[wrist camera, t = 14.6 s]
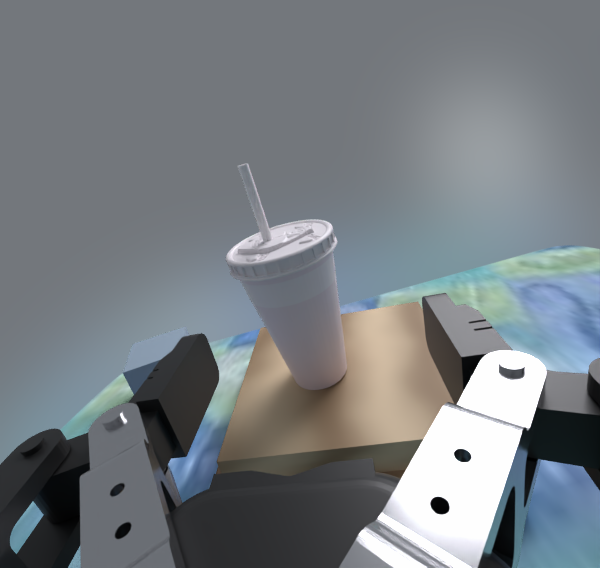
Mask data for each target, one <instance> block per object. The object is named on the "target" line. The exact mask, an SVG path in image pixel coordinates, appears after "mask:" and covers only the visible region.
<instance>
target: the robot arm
mask: <svg viewBox="0 0 600 568" xmlns="http://www.w3.org/2000/svg"><path fill="white" fill-rule="evenodd" d="M422 306H423V316H424V326H425V336H426V342H427V346H428V349H429V352H430V355H431V357H432V359H433V361H434V363H435V365H436V367H437V369H438V371H439V373H440V375H441V377H442V380H443V382H444V384H445V386H446V388H447V390H448V392H449V394H450V396H451V398H452V400H453V402H454V403H450V402H447V403H446V404H445V405H444V406H443V407H442V409H441V410H440V412H439V414H438V416H437V417H436V419H435V421H434V423H433V424H432V426H431V428H430V430H429V431H428V433H427V435H426V436H425V438H424V440H423V442H422V443H421V445H420V447H419V449H418V450H417V452H416V454H415V456H414V457H413V459H412V461H411V462H410V464H409V466H408V468H407V469H406V471H405V473H404V475H403V476H402V478H401V479H400V478H398V477H395V476H392V475H388V474H385V473H379V472H375V467H374V462H373V458H367V459H357V460H348V461H338V462H331V463H328V464H325V465H322V466H319V467H316V468H313V469H310V470H307V471H304V472H301V473H298V474H295V475H292V476H283V475H277V474H271V473H265V472H258V471H252V470H250V471H240V472H230V473H220V474H214V476H213V479H212V482H211V485H210V488H209V489H208V490H205V491H203V492H201V493H198V494H196V495H195V496H193V497H191V498H189V499H188V500H186V501H185V502H183V503H182V500H181V498H180V495H179V492H178V489H177V486H176V483H175V480H174V477H173V475H172V472H171V470H170V468H169V466H168V463H169V461H170V459H171V458H179V457H186V456H187V454H188V452H189V449H190V447H191V445H192V442H193V440H194V438H195V436H196V433H197V431H198V429H199V426H200V424H201V422H202V419H203V417H204V415H205V412H206V410H207V408H208V406H209V403H210V401H211V399H212V396H213V394H214V392H215V389H216V387H217V385H218V382H219V370H218V366H217V364H216V361H215V358H214V356H213V353H212V351H211V348H210V345H209V343H208V340H207V338H206V336H205V335H204V334H202V333H201V334H195V335H189V336H183V337H182V338H181V339H180V340H179V342H178V343H177V345H176V346H175V347H174V349H173V350H172V351H171V352H170V353H168V354H167V355H166V356H165V357H163V358H162V359H161V360H160V361H159V362H158V364H157V365H156V366H155V368H154V369H153V372H151V373H150V374H149V376H148V377H147V380H145V381H144V383H143V384H142V385H141V387H140V388H139V389H138V391H137V392H136V393H135V395H134V396H133V397H132V399H131V400H130V402H129V403H126V404H121V405H118V406H116V407H114V408H112V409H110V410H108V411H106V412H105V413H103V414H102V415H101V416H100V417H98V418H97V419H96V420H95V421H94V423H93V424H92V425H91V427H90V429H89V432H88V433H86V434H83V435H81V436H78V437H75V438H72V439H69V440H67V439H66V438H65V436H64V435H63V433H62V432H61V431H60V430H59V429H49V430H46V431H43V432H40V433H38V434H36V435H35V436H32V437H31V438H29V439H28V440H26V441H25V442H23V443H22V444H21V445H19V446H18V447H17V448H16V449H15V450H14V451H13V452H12V453H11V454H10V455H9V456H8V457H7V458H6V459H5V460H4V461H3V462H2V463H1V465H0V568H68V566H69V564H70V563H71V561H72V559H73V557H74V555H75V554H76V552H77V550H78V548H79V546H81V568H517V566H518V562H519V557H520V552H521V546H522V540H523V532H524V526H525V521H526V517H527V513H528V509H529V505H530V501H531V497H532V493H533V489H534V485H535V481H536V477H537V474H538V470H539V466H540V462H541V460H547V461H553V462H559V463H565V464H571V465H577V466H583V467H584V469H585V470H586V472H587V473H588V474H589V476H590V477H591V479H592V480H593V482H594V483H595V484H596V486H597V487H598V489H599V490H600V358H598V359H596V360H594V361H593V362H591V364H590V365H589V371H588V374H582V373H567V372H555V371H549V370H546V369H545V367H544V365H543V364H542V363H541V362H540V361H539V360H537V359H536V358H534V357H532V356H530V355H528V354H525V353H521V352H516V351H513V350H512V349H511V347H510V346H509V345H508V344H507V343H506V342H505V341H504V339H503V338H502V337H501V336H500V335H499V334H498V333H497V332H496V330H495V329H494V328H492V326H491V325H490V324H489V322H488V321H486V319H485V318H484V317H483V316H482V314H481V313H480V312H479V311H478V310H476V309H474V308H472V307H470V306H468V305H466V304H464V305H458V306H455V304H454V303H453V302H452V300H451V299H450V298H449V296H448V295H447V294H446V293H442V294H436V295H430V296H424V297H423V298H422ZM32 501H34V503H35V504H36V505H37V507H38V508H39V509H40V510H41V512H42V513H43V514H44V516H43V517H42V518H41V520H40V521H39V523H38V524H37V526H36V527H35V529H34V530H33V531H32V533H31V534H30V536H29V537H28V539H27V540H26V542H25V543H24V544H23V546H22V547H21V549H20V550H19V552H18V553H17V555H16V553H15V552H14V551H13V550H12V549H11V547H10V535H11V532H12V529H13V527H14V526H15V524H16V523H17V521H18V520H19V519H20V517H21V516H22V515H23V513H24V512H25V511H26V509H27V508H28V507H29V505H30V504H31V503H32Z"/></svg>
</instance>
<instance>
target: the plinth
mask: <svg viewBox="0 0 600 568" xmlns="http://www.w3.org/2000/svg"><path fill="white" fill-rule="evenodd" d="M341 322H342V330H343V338H344V346H345V354H346V362H347V370H346V373H345V375H344V376H343V377H342V379H341V380H339V381H338V382H337V383H336V384H334V385H332V386H330V387H328V388H325V389H320V390H308V389H304V388H302V387H300V386H299V385H298V384H297V383H296V381H295V379H294V378H293V376H292V374H291V372H290V370H289V368H288V367H287V365H286V363H285V361H284V359H283V358H282V356H281V354H280V352H279V350H278V348H277V347H276V345H275V343H274V341H273V339H272V338H271V336H270V334H269V332H268V330H267V329H266V327H264V328H261V329H260V332H259V335H258V338H257V341H256V344H255V347H254V350H253V353H252V356H251V359H250V362H249V365H248V368H247V371H246V374H245V377H244V380H243V383H242V386H241V389H240V393H239V396H238V399H237V402H236V405H235V408H234V411H233V414H232V417H231V420H230V423H229V426H228V429H227V432H226V435H225V438H224V441H223V444H222V447H221V450H220V453H219V456H218V459H217V464H218V469H217V472H216V474H220V473H230V472H240V471H250V470H252V471H258V472H265V473H271V474H277V475H283V476H292V475H295V474H298V473H301V472H304V471H307V470H310V469H313V468H316V467H319V466H322V465H325V464H328V463H331V462H338V461H348V460H357V459H367V458H373V462H374V467H375V472H379V473H385V474H388V475H392V476H395V477H398V478H400V479H401V478H402V476H403V475H404V473H405V471H406V469H407V468H408V466H409V464H410V462H411V461H412V459H413V457H414V456H415V454H416V452H417V450H418V449H419V447H420V445H421V443H422V442H423V440H424V438H425V436H426V435H427V433H428V431H429V430H430V428H431V426H432V424H433V423H434V421H435V419H436V417H437V416H438V414H439V412H440V410H441V409H442V407H443V406H444V405H445V404H446V403H447V402H450V403H454V402H453V400H452V398H451V396H450V394H449V392H448V390H447V388H446V386H445V384H444V382H443V380H442V377H441V375H440V373H439V371H438V369H437V367H436V365H435V363H434V361H433V359H432V357H431V355H430V352H429V349H428V346H427V342H426V336H425V326H424V316H423V310H422V308H421V306H420V304H419V303H418V302H413V303H407V304H401V305H395V306H389V307H383V308H377V309H371V310H365V311H359V312H353V313H347V314H341Z"/></svg>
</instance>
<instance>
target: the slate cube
mask: <svg viewBox="0 0 600 568" xmlns="http://www.w3.org/2000/svg"><path fill="white" fill-rule="evenodd" d="M183 336H189V333H188V331H187V328H186V327H182V328H179V329H177V330H173V331H170V332H167V333H164V334H161V335H158V336H155V337H152V338H149V339H146V340H143V341H140V342H137V343H134V344H133V345H132V348H131V350H130V354H129V356H128V359H127V362H126V365H125V368H124V371H123V374H124V376H125V378H126V380H127V382H128V384H129V386H130V388H131V390H132V392H133V393H134V395H135V393H136V392H137V391H138V389H139V388H140V387H141V385H142V384H143V383H144V381H145V380H147V377H148V376H149V374H150V373H151V372H153V369H154V368H155V366H156V365H157V364H158V362H159V361H160V360H161V359H162V358H163V357H165V356H166V355H167V354H168V353H170V352H171V351H172V350H173V349H174V347H175V346H176V345H177V343H178V342H179V340H180V339H181V338H182V337H183Z"/></svg>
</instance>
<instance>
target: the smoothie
mask: <svg viewBox="0 0 600 568" xmlns="http://www.w3.org/2000/svg"><path fill="white" fill-rule="evenodd" d="M238 169H239V172H240V175H241V178H242V181H243V183H244V186H245V189H246V192H247V195H248V198H249V201H250V204H251V207H252V210H253V213H254V216H255V219H256V221H257V224H258V227H259V230H260V232H259V233H257V234H254V235H252V236H250V237H248V238H246V239H244V240H243V241H241V242H240V243H238V244H237V245H235V246H234V247H233V248H232V249H231V250H230V251H229V252H228V254H227V256H226V262H227V264H228V266H229V268H230V274H231V276H233V277H234V278H235V279H238V280H240V281H241V283H242V285H243V286H244V289H245V290H246V292H247V294H248V296H249V298H250V300H251V302H252V303H253V305H254V307H255V309H256V310H257V312H258V314H259V316H260V318H261V319H262V321H263V323H264V325H265V327H266V329H267V330H268V332H269V334H270V336H271V338H272V339H273V341H274V343H275V345H276V347H277V348H278V350H279V352H280V354H281V356H282V358H283V359H284V361H285V363H286V365H287V367H288V368H289V370H290V372H291V374H292V376H293V378H294V379H295V381H296V383H297V384H298V385H299V386H300V387H302V388H304V389H308V390H320V389H325V388H328V387H330V386H332V385H334V384H336V383H337V382H338V381H339V380H341V379H342V377H343V376H344V375H345V373H346V370H347V362H346V354H345V346H344V338H343V330H342V322H341V313H340V305H339V297H338V289H337V281H336V272H335V264H334V257H333V250H334V249H335V246H336V245H337V239H336V237H335V235H334V231H333V227H332V225H331V224H330V223H328V222H327V221H323V220H301V221H295V222H290V223H286V224H282V225H279V226H275V227H272V228H269V226H268V223H267V220H266V217H265V214H264V211H263V208H262V205H261V202H260V198H259V195H258V193H257V190H256V186H255V183H254V181H253V177H252V175H251V171H250V168H249V165H248V163H246V164H243V165H240V166H238Z"/></svg>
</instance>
